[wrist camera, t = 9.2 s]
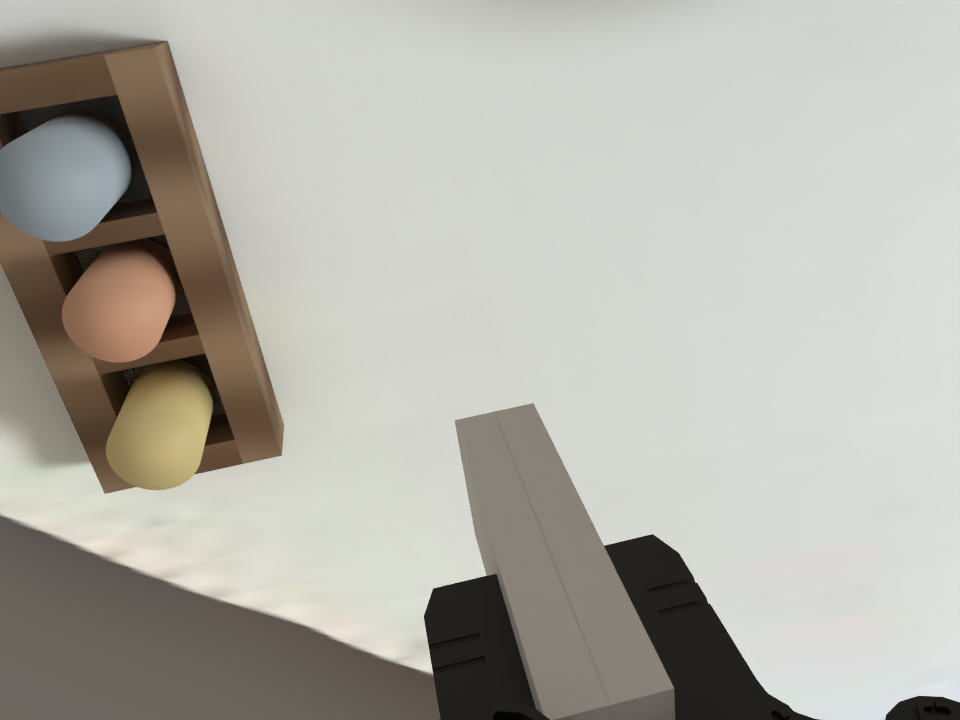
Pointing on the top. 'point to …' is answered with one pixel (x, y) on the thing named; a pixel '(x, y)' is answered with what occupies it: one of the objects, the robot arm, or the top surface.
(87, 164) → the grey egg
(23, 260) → the button board
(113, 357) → the button terracotta
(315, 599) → the top surface
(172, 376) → the button ochre
